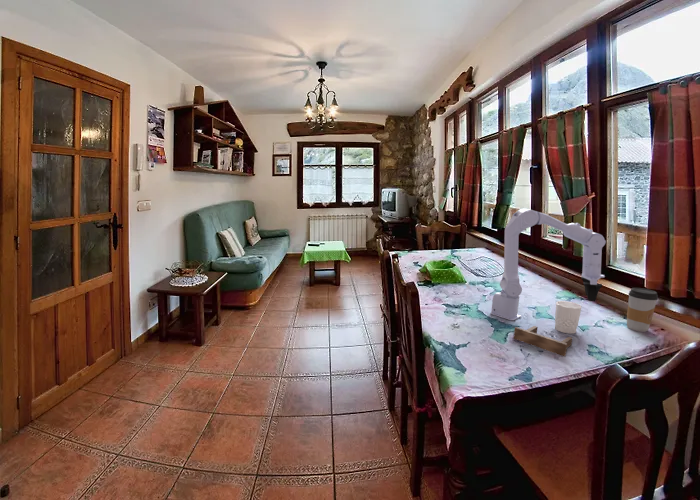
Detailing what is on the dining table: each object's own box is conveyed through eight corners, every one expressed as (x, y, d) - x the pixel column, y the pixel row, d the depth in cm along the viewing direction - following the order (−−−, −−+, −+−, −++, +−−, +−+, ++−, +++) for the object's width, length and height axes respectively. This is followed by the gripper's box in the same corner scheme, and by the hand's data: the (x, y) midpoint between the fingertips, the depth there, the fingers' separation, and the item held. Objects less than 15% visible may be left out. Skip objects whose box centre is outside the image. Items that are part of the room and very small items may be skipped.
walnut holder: (513, 338, 117) (514, 327, 116) (528, 330, 124) (529, 320, 123) (564, 356, 105) (565, 344, 104) (577, 346, 112) (579, 335, 111)
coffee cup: (645, 334, 122) (652, 295, 119) (618, 326, 129) (624, 289, 126) (655, 330, 126) (663, 292, 123) (629, 322, 133) (635, 286, 130)
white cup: (553, 324, 131) (556, 299, 129) (578, 329, 126) (581, 303, 124) (552, 330, 124) (555, 305, 122) (577, 336, 120) (581, 309, 118)
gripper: (608, 268, 120) (606, 304, 122) (601, 260, 132) (600, 293, 134) (584, 267, 123) (582, 302, 126) (580, 259, 136) (579, 291, 138)
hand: (590, 297), depth 130 cm, fingers open, 7 cm apart
